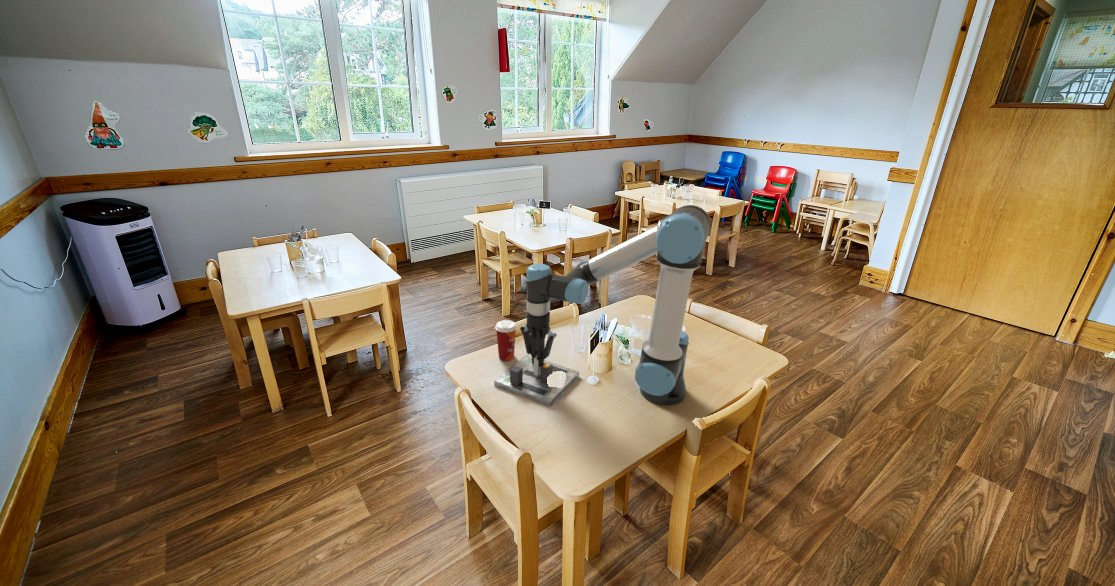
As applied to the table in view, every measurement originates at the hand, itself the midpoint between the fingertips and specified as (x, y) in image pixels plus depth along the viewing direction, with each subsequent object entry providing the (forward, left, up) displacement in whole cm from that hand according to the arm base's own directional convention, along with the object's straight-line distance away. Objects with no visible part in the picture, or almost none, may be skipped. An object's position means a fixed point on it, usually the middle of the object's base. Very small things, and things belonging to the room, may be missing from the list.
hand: (537, 373), depth 161 cm
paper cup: (+18, -7, -3) cm, 20 cm away
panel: (0, 0, -3) cm, 3 cm away
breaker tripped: (-3, 0, -1) cm, 4 cm away
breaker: (+4, +7, -1) cm, 8 cm away
